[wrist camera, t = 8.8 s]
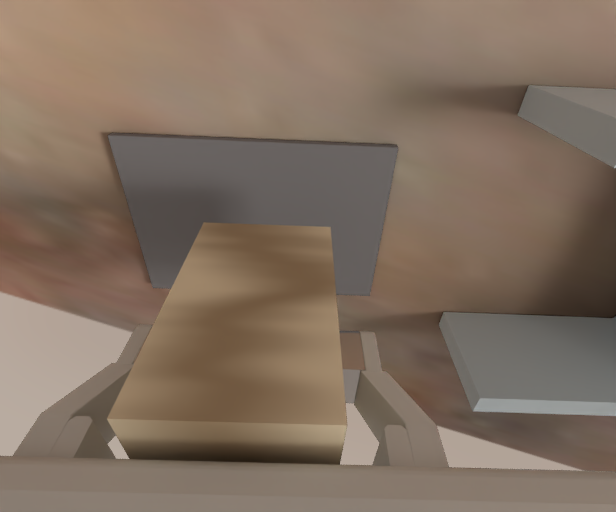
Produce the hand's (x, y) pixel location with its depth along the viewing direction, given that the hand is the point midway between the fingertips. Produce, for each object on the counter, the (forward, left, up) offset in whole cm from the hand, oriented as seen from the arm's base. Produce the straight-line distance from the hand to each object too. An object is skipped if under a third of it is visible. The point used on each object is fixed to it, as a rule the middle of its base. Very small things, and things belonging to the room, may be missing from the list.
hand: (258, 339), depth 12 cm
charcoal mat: (+1, 0, -8) cm, 8 cm away
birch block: (0, 0, -4) cm, 4 cm away
